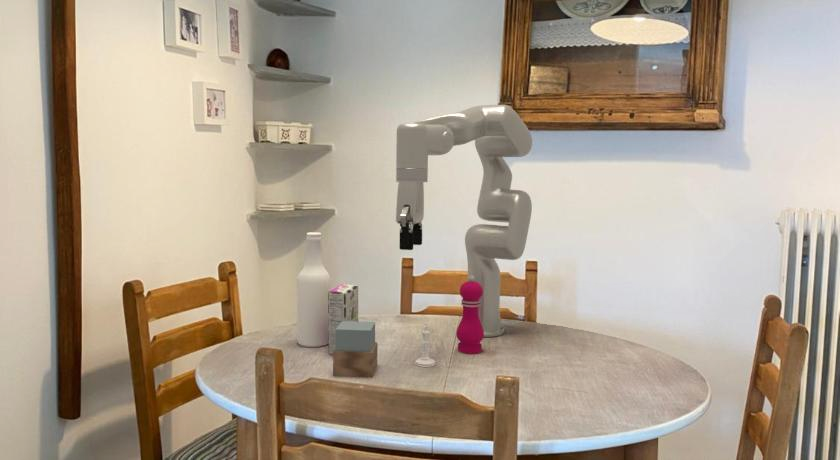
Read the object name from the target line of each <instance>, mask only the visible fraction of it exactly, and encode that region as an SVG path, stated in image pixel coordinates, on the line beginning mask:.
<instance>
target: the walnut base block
mask: <svg viewBox="0 0 840 460" xmlns="http://www.w3.org/2000/svg"><path fill="white" fill-rule="evenodd" d="M378 344H379V343H378V341H375V344H374V346H373V348H372V350H371V352H353V351H336V348H335V350H334V351H333V355H332V361H333V362H332V368H333V369H332V370H333V371H332V376H333V377H341V378H344V377H345V378H368V377H370V378H373V377H374V375H375V372H376V369H377V367H378Z"/></svg>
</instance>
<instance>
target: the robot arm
mask: <svg viewBox="0 0 840 460" xmlns="http://www.w3.org/2000/svg"><path fill="white" fill-rule="evenodd" d="M470 142H474V147H475V149H476V152H477V154H478V156H479V157H478V158H479V159H480V161H481V165H482V170H483V174H482V176H483V177H482V180H481V181H482V182H481V187H480V192H479V195H478V196H479V197H478V201H477V202H478V203H477V208H476V212H477V216H478V217H479V218H480V219H481V220H484V221H487V222H498V223H508V225H497V224H487V223H480V224H474V225H472V226H470V227H469V228H468V229H467V230H466V233H465V236H464V245H465V250H466V251H465V252H466V258H467V259H466V261H467V278H468V277H469V276H471V275H472V276H474V277H475V281H474V282H477V283H479V284H480V285H481V286H482V289H483V294H482V296H481V297H480V299H479V300H480V301H481V302H480V304H481V305H480V306H479V310H478V313H479V319H480V322H481V325H482V327H483V331H484V338H485V337H487V338H489V337H490V338H491V337H493V338H494V337H498V336H501V335H503V334H504V333H505V328H514V329H515V328H516V321H515V320H511V319H503V318H501V315H500V304H501V303H500V302H501V297H500V296H501V271H500V267H499V265H498V262H496V260H497V259H498V260H508V261H510V260H511V261H516V260H518V259H520V258H521V257H522V256H523V254H524V251H525V249H526V244H527V239H528V238H527V237H528V233H529V228H530V223H531V217H532V212H533V211H532V209H533V204H532V200H531V196H530V195H529V193H528V192H526V191H524V190H520V189H511V188H512V187H511V186H512V180H513V173H512V171H511V168H510V166H509V165H508V163H507V162H506V160H505V159H504V158H523V157H525V156H527V155H529V153H530V152H531V150H532V147H533V138H532V134H531V131H530V130H529V128H528V127H527V125H526V123H524V121H523V119H522V118H521V117H520V116H519V113H517V112H516V110H514V108H512V107H511V106H510V105H508V104H487V105H485V104H484V105H476V106H472V107H469V108H466V109H463V110H461V111H457V112H455V113H449V114H445V115H441V116H440V115H439V116H437V117H431V118H428V119H422V120H418V121H415V122H412V123H411V122H409V123H406V122H405V123H400V124H399V125H398V126H397V129H396V147H395V148H396V151H395V152H396V154H395V155H396V160H395V161H396V162H395V165H396V168H395V169H396V170H395V173H396V174H395V182H396V183H398V186H397V194H396V195H397V196H396V212H395V222H396V223H397V224H398V225H399V250H401V251H402V250H403V251H413V250H414V246H421V245H423V222H422V221H423V220H424V215H425V212H424V211H425V189H424V188H425V187H424V185H425V184H424V183H428V182H429V181H428V180H429V179H428V176H429V175H428V174H429V168H428V166H429V165H428V164H429V161H428V158H429V156H443V155H446V154H448V153H449V152H451V150H452V149H453V147H455V146H462V145H466V144H468V143H470ZM468 281H469V280H468V279H467V281H466V282H468Z"/></svg>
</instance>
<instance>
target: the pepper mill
mask: <svg viewBox="0 0 840 460" xmlns="http://www.w3.org/2000/svg"><path fill="white" fill-rule="evenodd" d="M468 280H469V281H468ZM467 281H468V282H467ZM467 281H465V282H463V283H462V284H461V286H460V288H459V295H460V296H461V303H460V304H461V306H462V317H461V319H460V322H459V324H458V326H457V328H456V338H457V339H458V341H459V342H458V343H457V351H458V352H459V353H462V354H467V355H469V354H470V355H475V354H480V353H481V352H482V349H483V344H482V343H481V341H483V339H484V338H485V337H484V331H483V327H482V325H481V322H480V319H479V313H478V310H479V306H480V305H481V304H480V302H481V301H480V300H479V299H480V297H481V296H482V294H483V289H482V286H481V285H480V284H479V283H477V282H474V281H475V277H474V276H472V275H471V276H469V277H468V276H467Z"/></svg>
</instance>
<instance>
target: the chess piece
mask: <svg viewBox="0 0 840 460" xmlns="http://www.w3.org/2000/svg"><path fill="white" fill-rule="evenodd" d="M428 328H429V325H428V323H425V324H424V327H423V329H424V330H422V331H421V335H422V338H423V339H422V340H421V341H420V342H421V343H422V344H423V345H422V346H423V347H422V353H421V354H422V355H421V356H420V358H417V359H416V360H415V365H416V366H417V367H421V368H431V367H434V366H435V365H436V361H435V359H432V358H431V357H430V354H429V343H431V341H430V340H429V337H430V334H431V331H429V330H428Z"/></svg>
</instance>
